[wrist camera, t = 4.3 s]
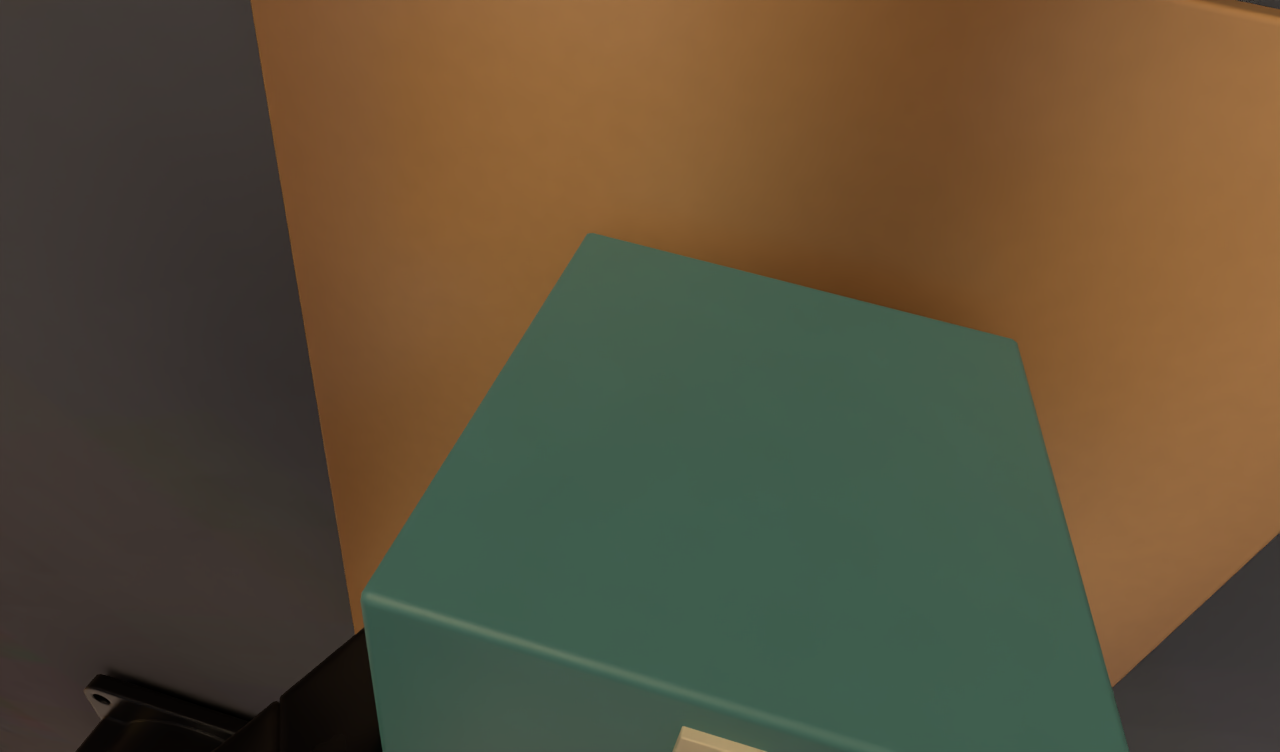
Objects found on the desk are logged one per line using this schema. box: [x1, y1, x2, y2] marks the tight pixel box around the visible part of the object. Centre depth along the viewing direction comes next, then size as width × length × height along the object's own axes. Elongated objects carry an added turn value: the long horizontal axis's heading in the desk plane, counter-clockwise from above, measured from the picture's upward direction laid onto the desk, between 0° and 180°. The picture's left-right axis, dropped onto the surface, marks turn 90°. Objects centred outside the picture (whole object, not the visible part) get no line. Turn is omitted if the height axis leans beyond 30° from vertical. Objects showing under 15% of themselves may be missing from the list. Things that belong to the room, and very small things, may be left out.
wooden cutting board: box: [250, 0, 1280, 688], centre depth 11 cm, size 12×14×1 cm
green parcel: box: [360, 233, 1129, 752], centre depth 8 cm, size 8×4×5 cm, turn 171°
